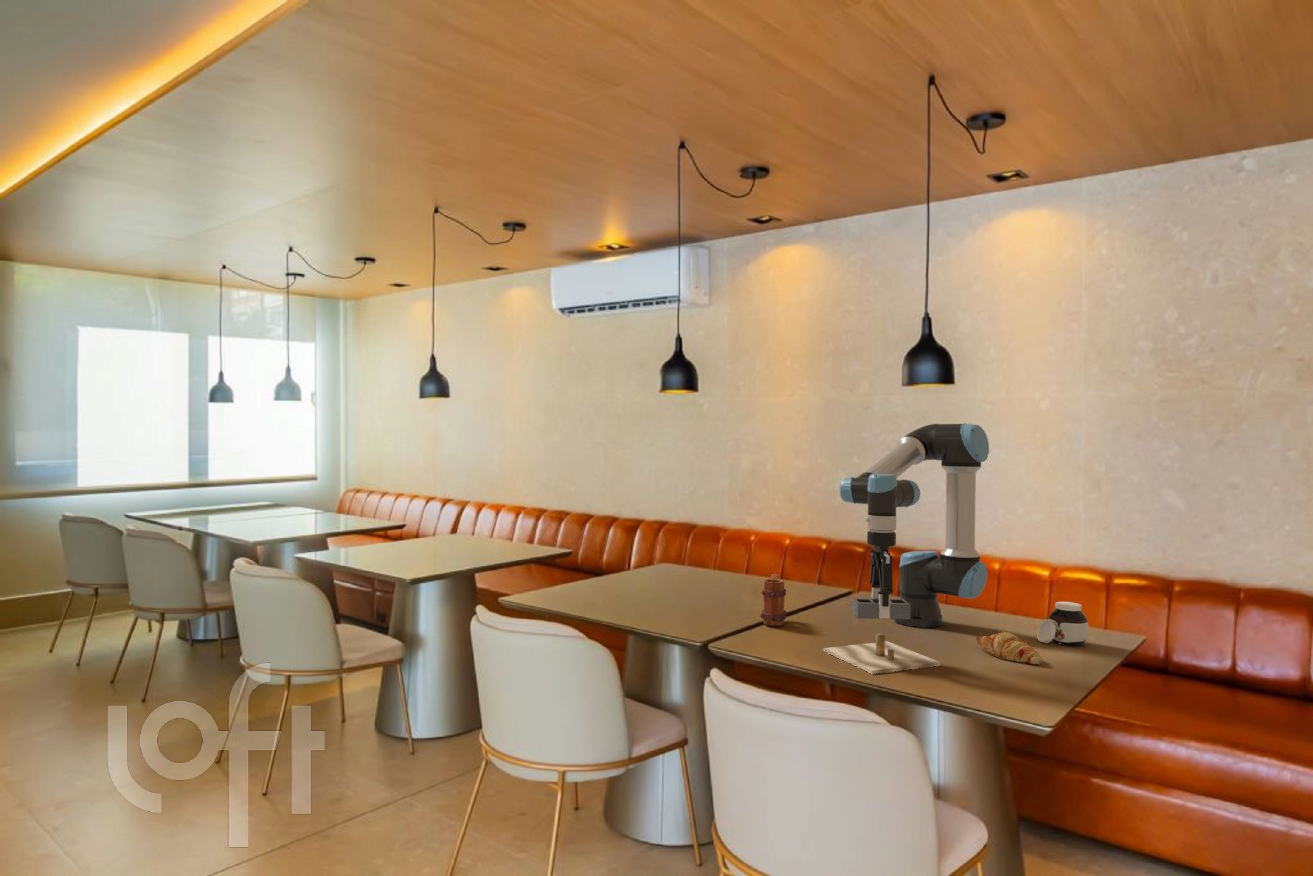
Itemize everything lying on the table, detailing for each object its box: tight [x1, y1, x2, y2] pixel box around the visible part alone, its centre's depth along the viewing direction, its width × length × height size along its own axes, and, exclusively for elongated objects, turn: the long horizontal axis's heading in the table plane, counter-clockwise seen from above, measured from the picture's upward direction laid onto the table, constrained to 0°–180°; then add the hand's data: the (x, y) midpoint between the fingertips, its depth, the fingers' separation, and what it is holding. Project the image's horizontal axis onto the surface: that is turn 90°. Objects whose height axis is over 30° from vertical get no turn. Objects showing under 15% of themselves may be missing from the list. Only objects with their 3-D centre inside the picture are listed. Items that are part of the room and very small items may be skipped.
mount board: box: [822, 633, 941, 675], centre depth 214 cm, size 22×22×6 cm
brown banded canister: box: [760, 573, 788, 627], centre depth 254 cm, size 15×8×15 cm, turn 168°
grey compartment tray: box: [851, 597, 910, 620], centre depth 214 cm, size 14×7×4 cm, turn 89°
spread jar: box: [1035, 601, 1089, 647], centre depth 232 cm, size 12×11×12 cm
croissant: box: [975, 631, 1043, 665], centre depth 218 cm, size 21×10×8 cm, turn 27°
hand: (880, 614), depth 214 cm, fingers closed on grey compartment tray, 7 cm apart
